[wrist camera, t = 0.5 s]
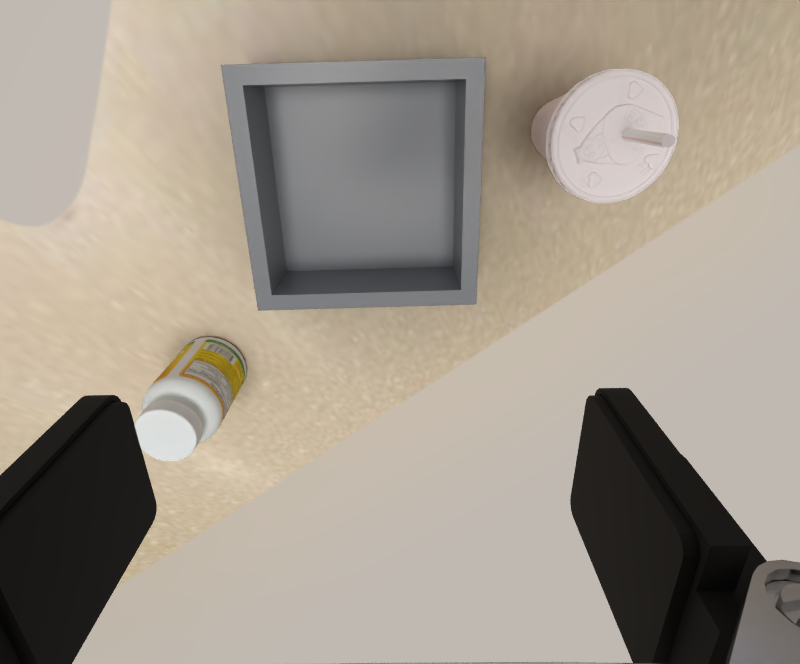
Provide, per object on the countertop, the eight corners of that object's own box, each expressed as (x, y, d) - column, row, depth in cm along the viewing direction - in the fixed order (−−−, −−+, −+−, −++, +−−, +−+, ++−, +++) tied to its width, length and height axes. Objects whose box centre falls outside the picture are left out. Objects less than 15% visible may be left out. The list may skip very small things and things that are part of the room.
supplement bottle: (238, 331, 40) (195, 396, 31) (254, 390, 42) (218, 466, 34) (171, 339, 40) (109, 405, 32) (190, 397, 43) (138, 474, 34)
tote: (470, 64, 33) (485, 57, 27) (464, 275, 38) (476, 304, 33) (249, 70, 33) (220, 64, 27) (277, 280, 38) (258, 310, 33)
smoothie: (617, 153, 35) (745, 185, 22) (528, 194, 36) (601, 246, 23) (591, 56, 33) (718, 30, 20) (496, 103, 34) (559, 106, 21)
